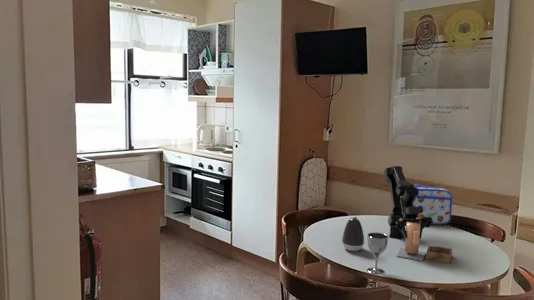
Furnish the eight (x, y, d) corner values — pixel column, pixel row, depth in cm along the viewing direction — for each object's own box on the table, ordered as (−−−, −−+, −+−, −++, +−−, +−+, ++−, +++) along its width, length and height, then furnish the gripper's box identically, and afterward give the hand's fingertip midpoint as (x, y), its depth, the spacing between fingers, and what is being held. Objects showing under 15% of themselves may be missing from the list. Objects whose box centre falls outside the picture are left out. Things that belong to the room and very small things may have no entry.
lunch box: (400, 223, 241) (403, 185, 238) (398, 218, 251) (401, 182, 248) (451, 226, 235) (454, 188, 233) (447, 221, 245) (450, 184, 243)
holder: (426, 259, 186) (426, 251, 185) (428, 252, 195) (428, 244, 194) (450, 263, 181) (451, 255, 181) (451, 256, 190) (452, 248, 190)
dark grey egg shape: (365, 247, 199) (366, 216, 198) (362, 254, 190) (364, 222, 188) (343, 244, 203) (344, 213, 201) (340, 251, 193) (341, 219, 191)
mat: (396, 256, 188) (396, 255, 188) (400, 249, 198) (400, 248, 197) (422, 261, 183) (422, 260, 183) (425, 253, 193) (425, 252, 193)
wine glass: (363, 267, 175) (365, 232, 174) (381, 266, 176) (383, 232, 174) (369, 275, 167) (371, 238, 166) (388, 274, 168) (390, 238, 166)
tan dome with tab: (403, 248, 193) (404, 221, 192) (416, 249, 193) (418, 221, 191) (408, 255, 185) (410, 227, 183) (422, 256, 184) (424, 227, 183)
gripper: (391, 198, 192) (396, 229, 182) (432, 199, 191) (439, 230, 181) (386, 210, 200) (390, 240, 191) (426, 211, 199) (432, 241, 190)
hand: (413, 238), depth 188 cm, fingers closed on tan dome with tab, 6 cm apart
